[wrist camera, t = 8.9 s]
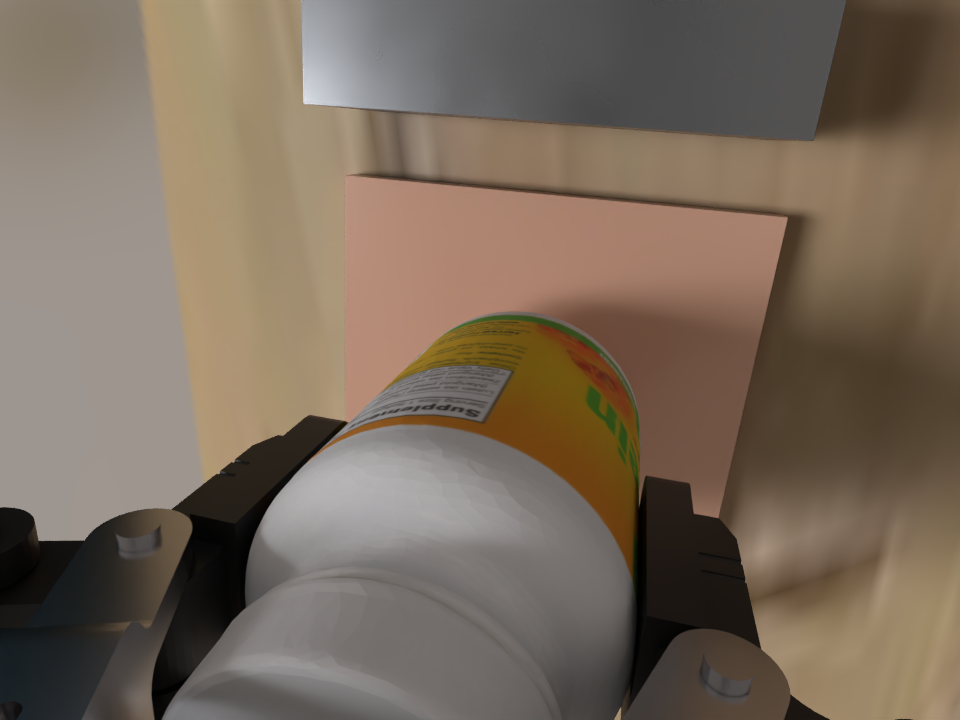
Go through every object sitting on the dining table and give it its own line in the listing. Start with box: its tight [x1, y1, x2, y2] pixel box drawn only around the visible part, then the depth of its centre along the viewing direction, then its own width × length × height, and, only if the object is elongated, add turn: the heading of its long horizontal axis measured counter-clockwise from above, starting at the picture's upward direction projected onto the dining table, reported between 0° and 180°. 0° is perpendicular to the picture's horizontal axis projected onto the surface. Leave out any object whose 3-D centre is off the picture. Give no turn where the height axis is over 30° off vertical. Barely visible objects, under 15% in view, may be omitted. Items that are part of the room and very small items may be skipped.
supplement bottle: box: [162, 311, 641, 720], centre depth 10 cm, size 5×5×10 cm
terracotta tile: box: [345, 174, 788, 518], centre depth 16 cm, size 10×10×1 cm
